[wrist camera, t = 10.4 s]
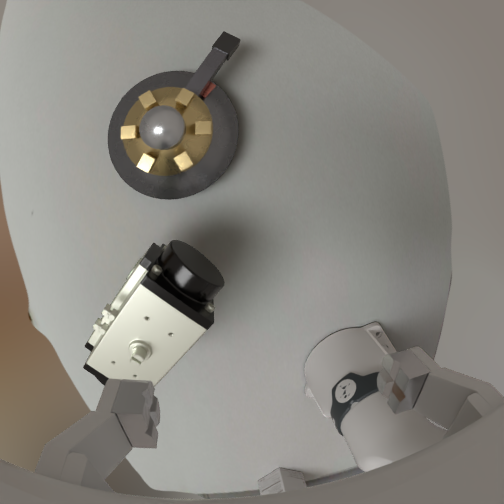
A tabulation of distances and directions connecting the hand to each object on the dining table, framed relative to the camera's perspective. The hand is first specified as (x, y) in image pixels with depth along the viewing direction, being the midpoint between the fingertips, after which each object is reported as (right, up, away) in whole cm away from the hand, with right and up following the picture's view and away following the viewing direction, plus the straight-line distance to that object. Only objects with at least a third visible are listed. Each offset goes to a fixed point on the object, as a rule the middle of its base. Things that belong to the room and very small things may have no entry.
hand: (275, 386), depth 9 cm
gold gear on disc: (-11, +19, +25) cm, 34 cm away
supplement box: (+7, -55, +52) cm, 76 cm away
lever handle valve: (-8, +22, +21) cm, 32 cm away
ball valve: (-14, +1, +31) cm, 34 cm away
